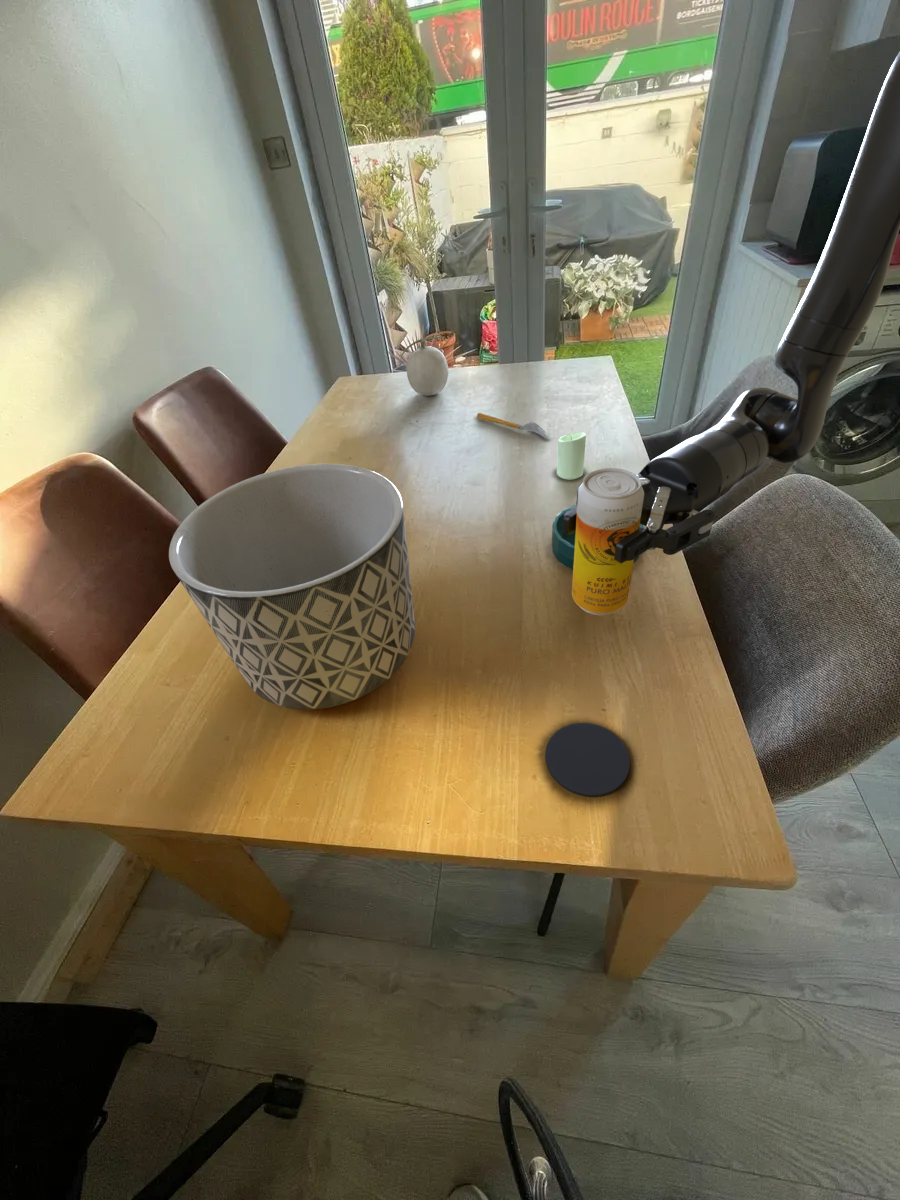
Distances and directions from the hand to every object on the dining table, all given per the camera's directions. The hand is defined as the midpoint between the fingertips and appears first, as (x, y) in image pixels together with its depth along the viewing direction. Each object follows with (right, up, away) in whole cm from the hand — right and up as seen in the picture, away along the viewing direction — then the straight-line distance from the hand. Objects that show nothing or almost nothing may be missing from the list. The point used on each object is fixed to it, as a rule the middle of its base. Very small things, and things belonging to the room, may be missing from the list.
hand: (591, 539), depth 54 cm
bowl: (+9, +2, +34) cm, 35 cm away
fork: (0, +33, +69) cm, 77 cm away
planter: (-30, -13, +22) cm, 40 cm away
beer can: (+3, -6, +7) cm, 10 cm away
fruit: (-20, +48, +89) cm, 103 cm away
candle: (+9, +18, +52) cm, 56 cm away
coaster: (+1, -23, +6) cm, 24 cm away
